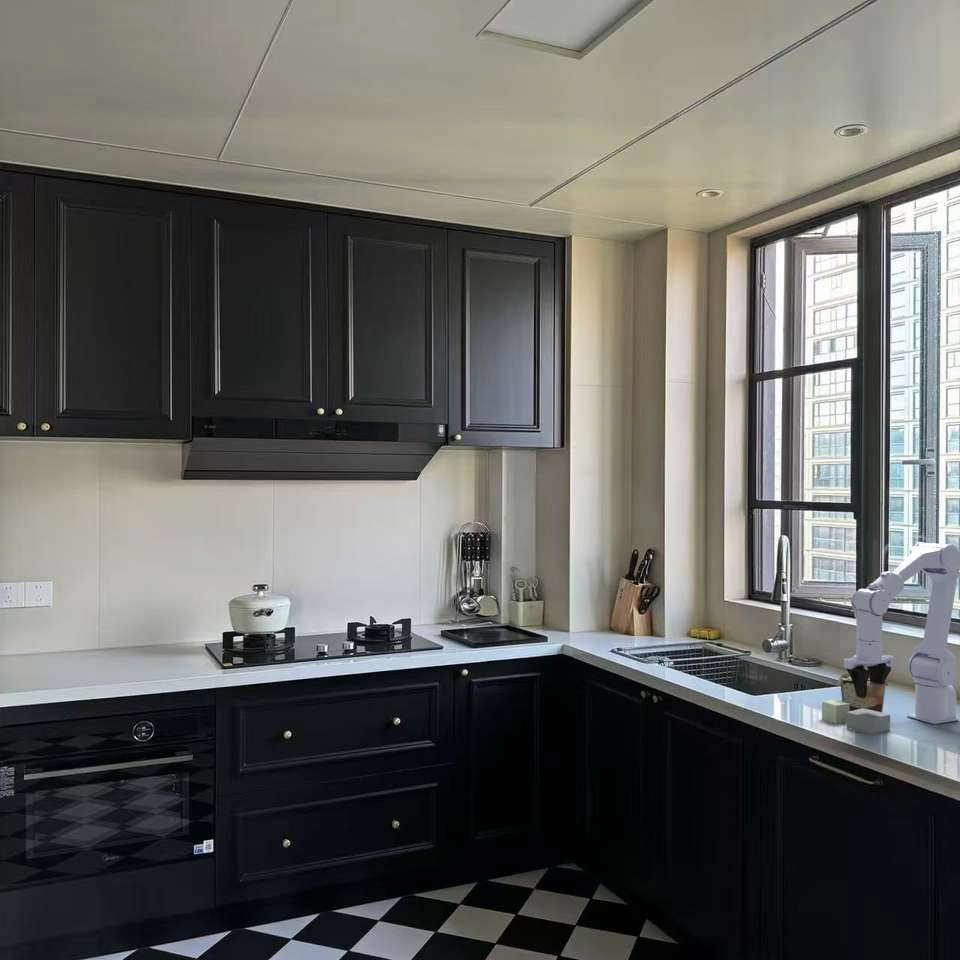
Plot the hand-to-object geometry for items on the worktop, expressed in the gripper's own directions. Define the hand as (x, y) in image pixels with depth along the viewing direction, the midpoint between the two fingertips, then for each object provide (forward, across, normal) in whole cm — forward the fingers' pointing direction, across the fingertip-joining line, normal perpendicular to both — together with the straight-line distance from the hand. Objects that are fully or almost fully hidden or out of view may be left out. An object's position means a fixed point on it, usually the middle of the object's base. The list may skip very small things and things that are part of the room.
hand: (868, 696), depth 218 cm
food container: (+8, -9, -11) cm, 16 cm away
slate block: (+8, 0, 0) cm, 8 cm away
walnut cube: (+2, 0, 0) cm, 2 cm away
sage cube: (+8, +1, -9) cm, 12 cm away
